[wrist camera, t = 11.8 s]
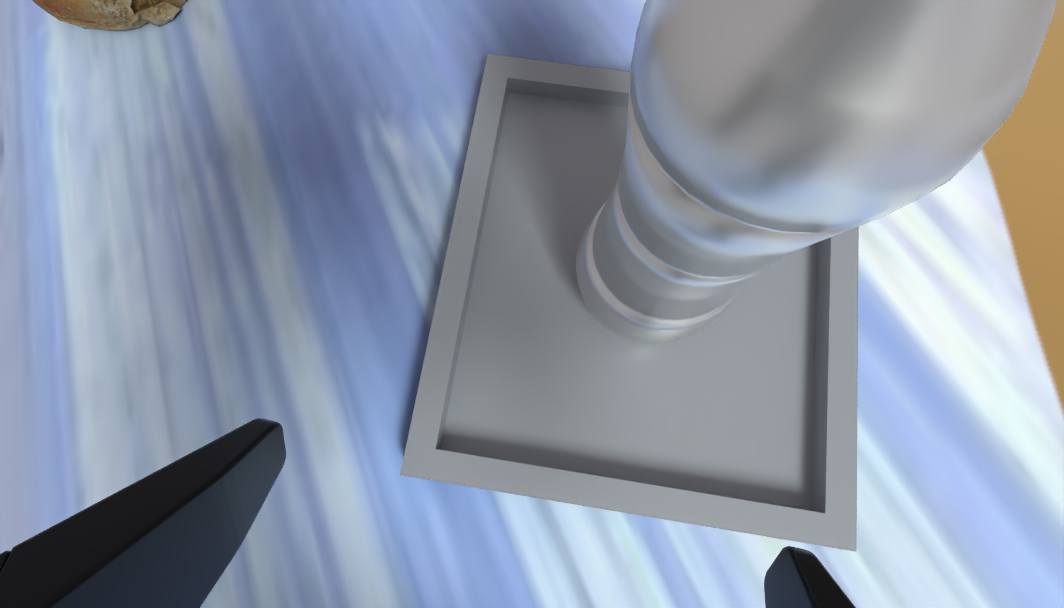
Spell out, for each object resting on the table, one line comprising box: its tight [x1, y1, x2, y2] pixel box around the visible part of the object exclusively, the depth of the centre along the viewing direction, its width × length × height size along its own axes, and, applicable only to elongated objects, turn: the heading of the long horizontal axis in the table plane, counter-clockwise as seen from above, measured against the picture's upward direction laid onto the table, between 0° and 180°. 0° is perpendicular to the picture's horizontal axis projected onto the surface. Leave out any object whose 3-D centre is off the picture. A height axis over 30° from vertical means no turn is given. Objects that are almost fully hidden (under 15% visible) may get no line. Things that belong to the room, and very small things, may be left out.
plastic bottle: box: [576, 0, 1057, 343], centre depth 14 cm, size 6×7×20 cm
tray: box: [400, 54, 858, 551], centre depth 23 cm, size 20×18×2 cm
